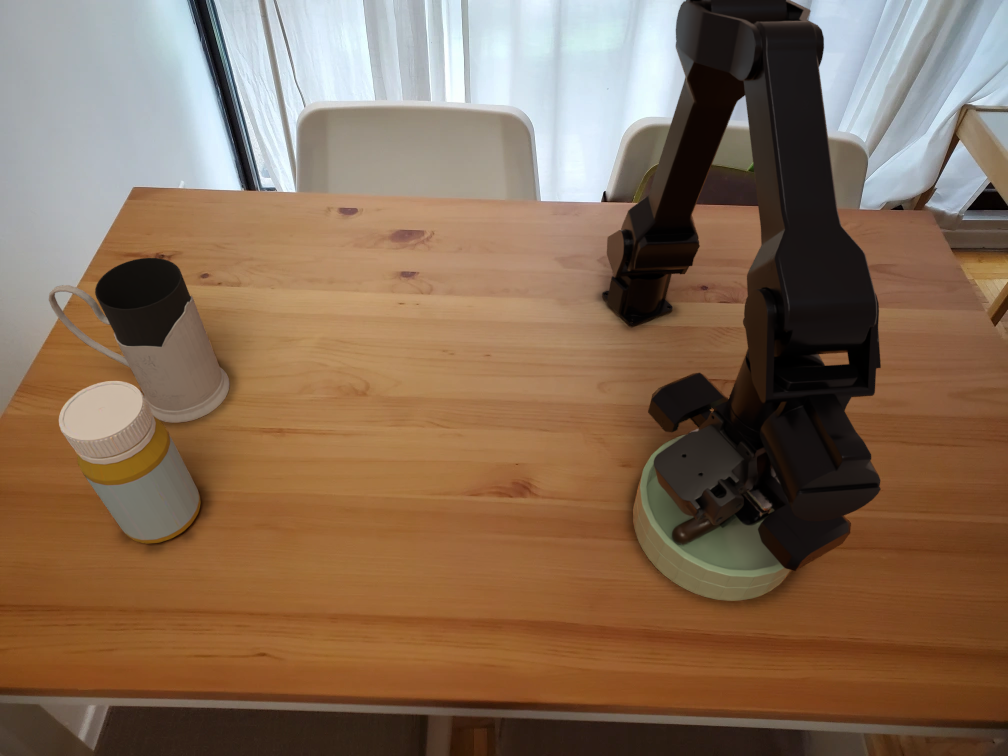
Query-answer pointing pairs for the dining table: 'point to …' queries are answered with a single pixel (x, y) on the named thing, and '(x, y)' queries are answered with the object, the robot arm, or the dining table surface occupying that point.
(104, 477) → the bottle
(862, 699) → the dining table surface
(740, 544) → the bowl
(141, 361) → the glass holder
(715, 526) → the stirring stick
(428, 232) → the dining table surface
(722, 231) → the dining table surface
